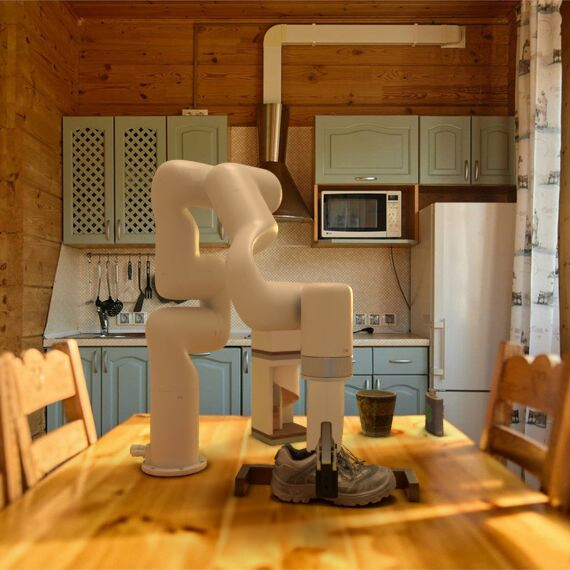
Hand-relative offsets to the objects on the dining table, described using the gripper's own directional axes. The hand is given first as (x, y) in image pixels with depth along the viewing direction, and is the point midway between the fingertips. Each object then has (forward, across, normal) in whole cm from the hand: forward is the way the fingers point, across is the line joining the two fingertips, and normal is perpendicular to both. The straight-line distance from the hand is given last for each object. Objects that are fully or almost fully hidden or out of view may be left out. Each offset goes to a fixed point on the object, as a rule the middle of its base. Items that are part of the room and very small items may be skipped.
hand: (326, 495), depth 78 cm
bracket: (+5, -17, 0) cm, 17 cm away
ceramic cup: (+5, -56, +10) cm, 57 cm away
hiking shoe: (+5, -13, +1) cm, 14 cm away
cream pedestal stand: (+5, -52, -12) cm, 53 cm away
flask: (+5, -61, +26) cm, 66 cm away
